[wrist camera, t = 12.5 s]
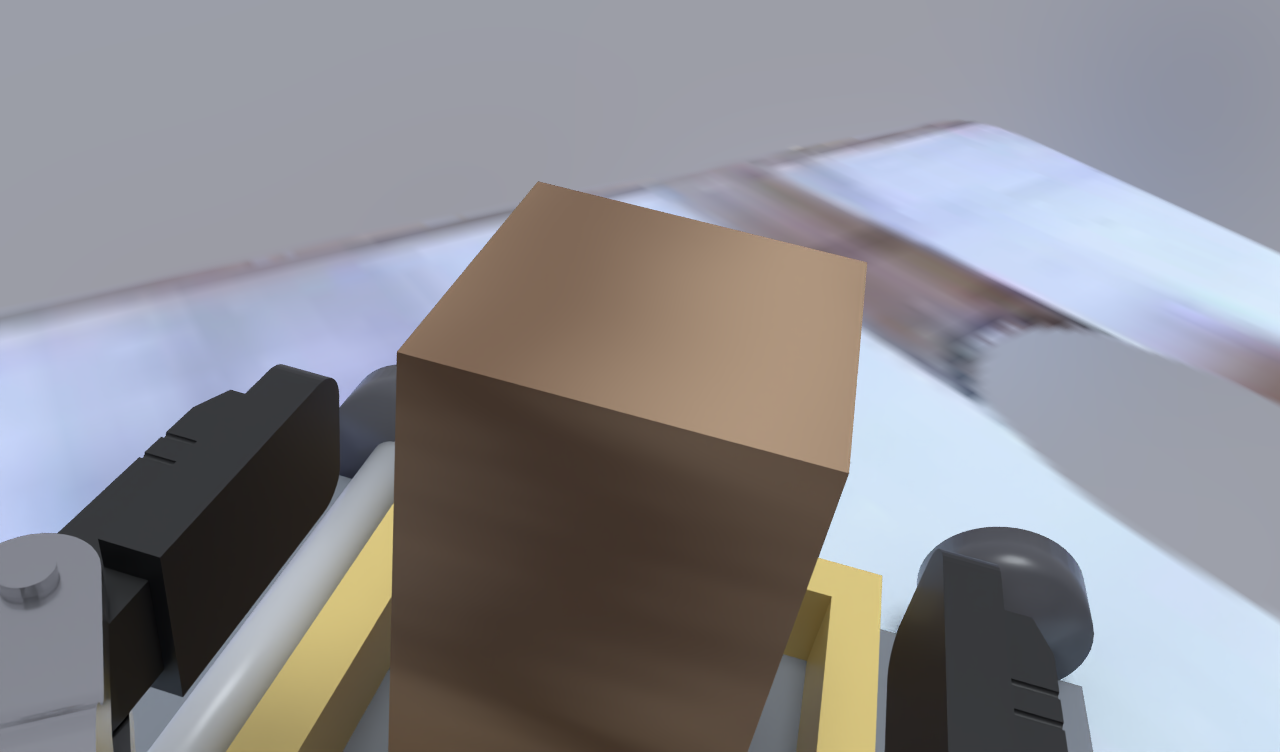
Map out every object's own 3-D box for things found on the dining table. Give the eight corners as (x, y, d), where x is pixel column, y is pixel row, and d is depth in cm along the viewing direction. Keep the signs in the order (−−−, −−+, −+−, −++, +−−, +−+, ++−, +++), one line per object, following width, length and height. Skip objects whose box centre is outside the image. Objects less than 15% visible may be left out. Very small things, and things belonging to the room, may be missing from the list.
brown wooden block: (726, 696, 20) (866, 262, 14) (678, 943, 16) (849, 473, 10) (490, 627, 21) (538, 181, 15) (385, 849, 17) (397, 352, 11)
